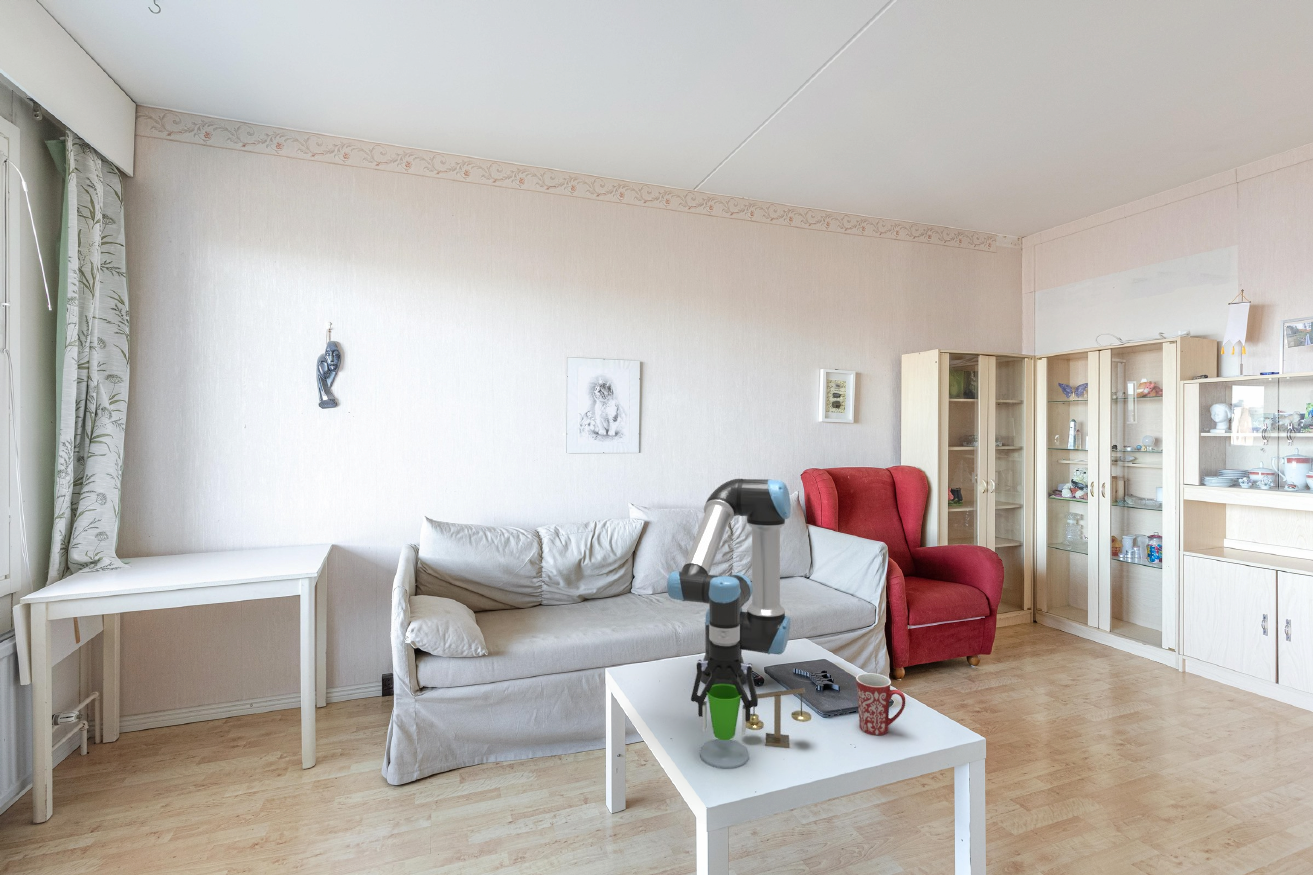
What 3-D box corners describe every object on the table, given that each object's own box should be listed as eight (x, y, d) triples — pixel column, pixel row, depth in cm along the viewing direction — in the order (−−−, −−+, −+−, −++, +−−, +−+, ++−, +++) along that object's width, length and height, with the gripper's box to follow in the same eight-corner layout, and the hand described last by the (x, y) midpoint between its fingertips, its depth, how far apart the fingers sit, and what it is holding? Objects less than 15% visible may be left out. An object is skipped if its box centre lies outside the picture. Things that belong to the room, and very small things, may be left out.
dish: (702, 740, 162) (702, 736, 162) (749, 745, 159) (749, 741, 159) (697, 765, 150) (697, 761, 150) (747, 771, 148) (747, 766, 148)
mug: (851, 730, 167) (851, 681, 166) (861, 717, 174) (861, 669, 174) (900, 744, 160) (900, 692, 159) (908, 730, 167) (909, 680, 167)
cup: (741, 746, 149) (741, 700, 149) (703, 742, 151) (703, 697, 151) (743, 728, 158) (743, 685, 158) (708, 724, 160) (708, 682, 159)
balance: (743, 743, 160) (743, 688, 160) (744, 733, 165) (744, 680, 165) (811, 749, 157) (812, 693, 157) (810, 739, 162) (810, 685, 162)
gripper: (678, 643, 152) (678, 734, 153) (769, 649, 148) (768, 742, 149) (683, 633, 160) (682, 719, 160) (769, 638, 156) (768, 727, 156)
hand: (724, 730), depth 154 cm, fingers closed on cup, 9 cm apart
